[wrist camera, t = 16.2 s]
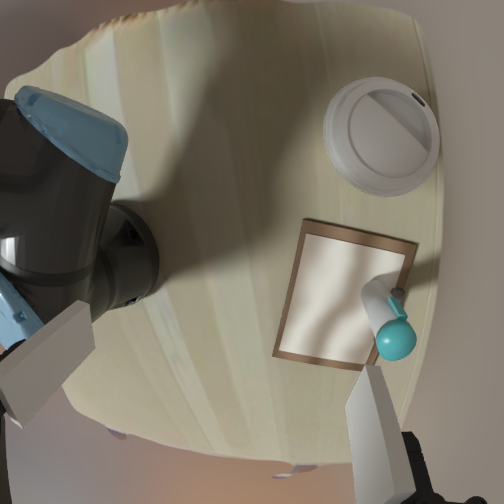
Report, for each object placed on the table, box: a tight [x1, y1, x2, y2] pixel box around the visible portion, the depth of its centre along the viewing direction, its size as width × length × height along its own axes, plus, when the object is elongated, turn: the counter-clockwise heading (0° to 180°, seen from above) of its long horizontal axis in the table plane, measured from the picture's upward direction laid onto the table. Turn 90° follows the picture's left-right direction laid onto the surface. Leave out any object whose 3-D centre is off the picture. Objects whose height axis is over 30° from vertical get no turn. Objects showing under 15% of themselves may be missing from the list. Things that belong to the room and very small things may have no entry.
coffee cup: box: [323, 77, 440, 197], centre depth 25 cm, size 10×10×15 cm
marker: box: [361, 280, 417, 361], centre depth 29 cm, size 4×4×13 cm
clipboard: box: [272, 219, 417, 371], centre depth 37 cm, size 15×20×2 cm
